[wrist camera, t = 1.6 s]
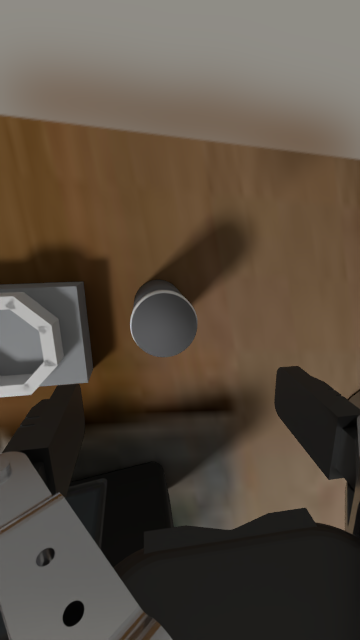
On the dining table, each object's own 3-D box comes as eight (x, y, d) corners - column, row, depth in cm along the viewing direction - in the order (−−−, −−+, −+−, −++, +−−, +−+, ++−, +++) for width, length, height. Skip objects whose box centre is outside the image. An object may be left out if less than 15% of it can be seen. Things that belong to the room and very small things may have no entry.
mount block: (83, 281, 27) (70, 289, 22) (93, 368, 29) (83, 393, 24) (-56, 286, 25) (-102, 296, 20) (-33, 377, 28) (-70, 406, 23)
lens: (182, 277, 28) (198, 291, 20) (183, 326, 29) (198, 355, 21) (131, 279, 27) (127, 294, 19) (134, 329, 28) (132, 360, 21)
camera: (160, 430, 32) (175, 582, 18) (172, 496, 35) (194, 674, 21) (-48, 472, 30) (-219, 682, 16) (-17, 539, 33) (-141, 769, 19)
